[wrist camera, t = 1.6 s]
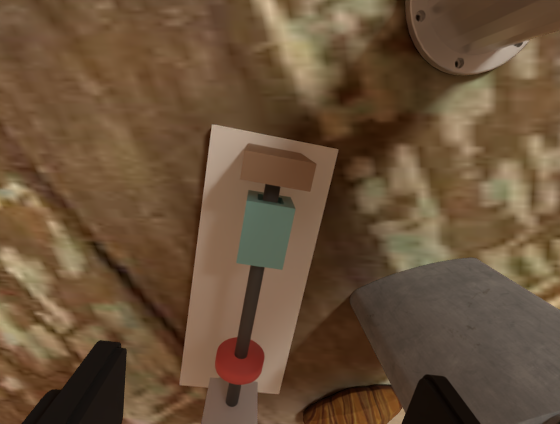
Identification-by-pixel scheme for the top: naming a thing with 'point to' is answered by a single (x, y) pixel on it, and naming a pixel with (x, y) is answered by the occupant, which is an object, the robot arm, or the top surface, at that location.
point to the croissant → (356, 407)
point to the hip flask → (466, 338)
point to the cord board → (249, 270)
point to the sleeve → (265, 231)
